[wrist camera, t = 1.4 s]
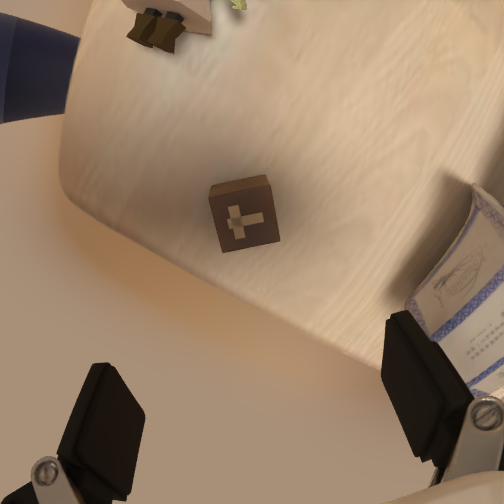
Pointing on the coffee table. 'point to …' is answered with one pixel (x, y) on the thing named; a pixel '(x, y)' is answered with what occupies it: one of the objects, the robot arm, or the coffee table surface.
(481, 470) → the robot arm
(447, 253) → the potted plant
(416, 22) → the coffee table surface
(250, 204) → the brown cube
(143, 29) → the figurine
